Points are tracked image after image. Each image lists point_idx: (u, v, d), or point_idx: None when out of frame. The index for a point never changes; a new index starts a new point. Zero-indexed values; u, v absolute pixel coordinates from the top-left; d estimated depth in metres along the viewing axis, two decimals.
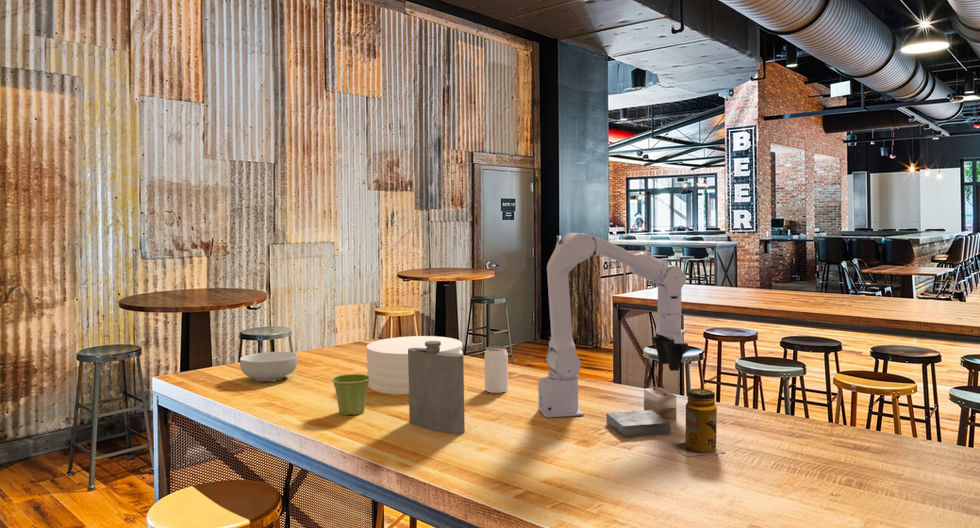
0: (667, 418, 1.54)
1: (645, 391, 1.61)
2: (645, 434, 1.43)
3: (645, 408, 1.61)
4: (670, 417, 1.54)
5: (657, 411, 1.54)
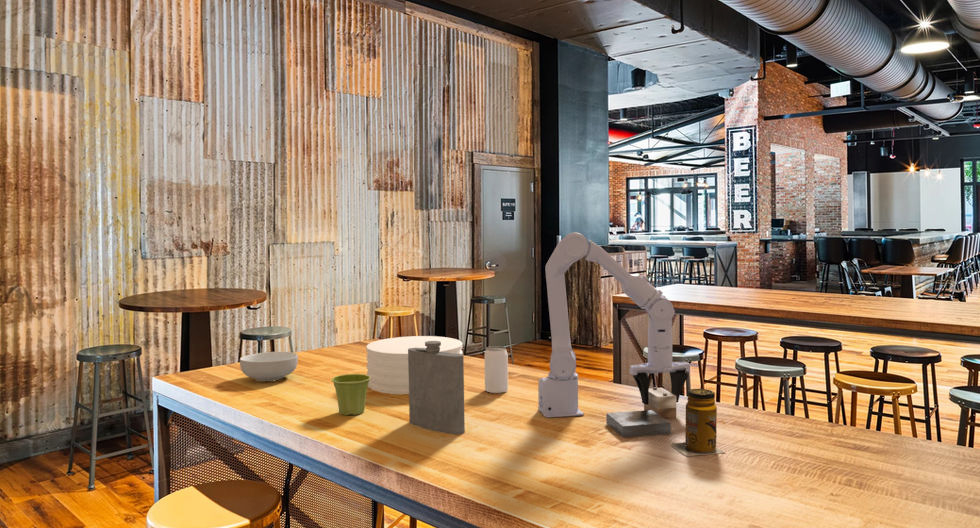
0: (667, 418, 1.54)
1: None
2: (645, 434, 1.43)
3: (645, 408, 1.61)
4: (670, 417, 1.54)
5: (657, 411, 1.54)
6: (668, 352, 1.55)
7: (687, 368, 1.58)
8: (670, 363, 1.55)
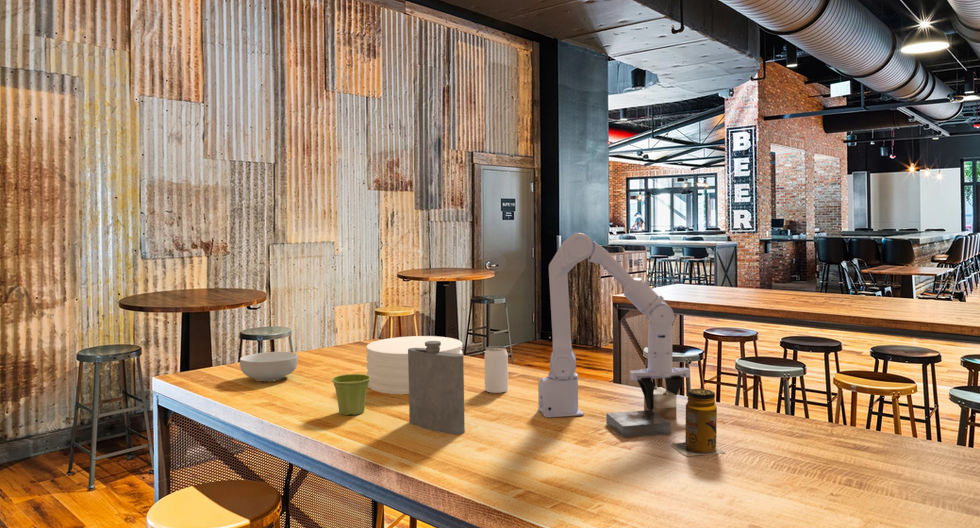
0: (667, 417, 1.54)
1: None
2: (645, 434, 1.43)
3: (645, 407, 1.61)
4: (670, 416, 1.54)
5: (657, 410, 1.54)
6: (668, 358, 1.55)
7: (687, 374, 1.58)
8: (670, 369, 1.55)
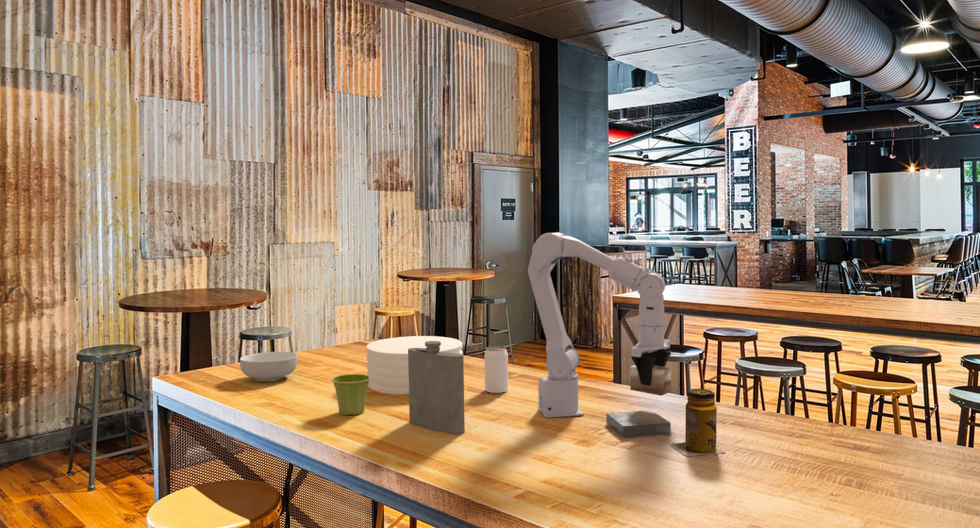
0: (666, 392, 1.51)
1: (633, 368, 1.54)
2: (645, 434, 1.43)
3: (633, 386, 1.54)
4: (667, 390, 1.52)
5: (659, 386, 1.49)
6: (663, 329, 1.51)
7: (668, 344, 1.57)
8: None
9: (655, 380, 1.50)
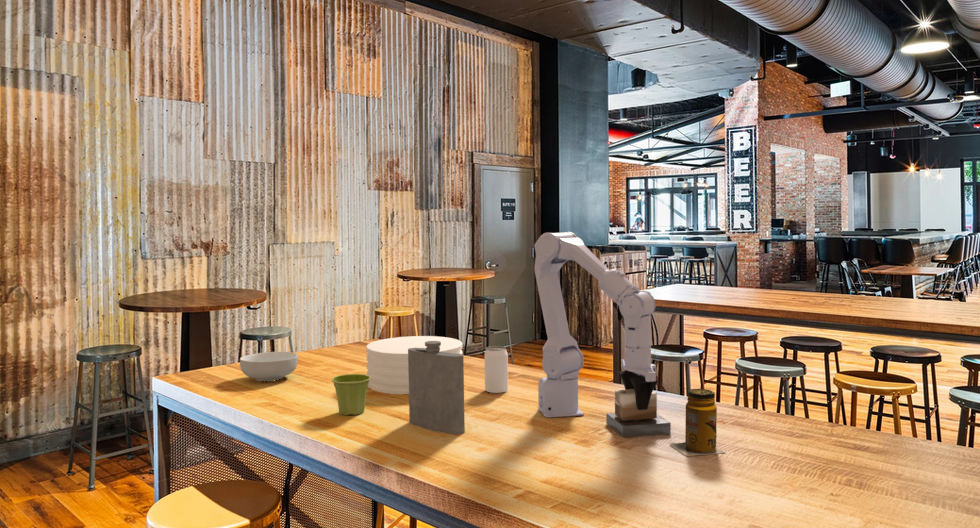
0: None
1: (626, 397, 1.44)
2: (645, 434, 1.43)
3: (626, 416, 1.45)
4: None
5: (655, 409, 1.46)
6: None
7: None
8: None
9: (650, 404, 1.45)
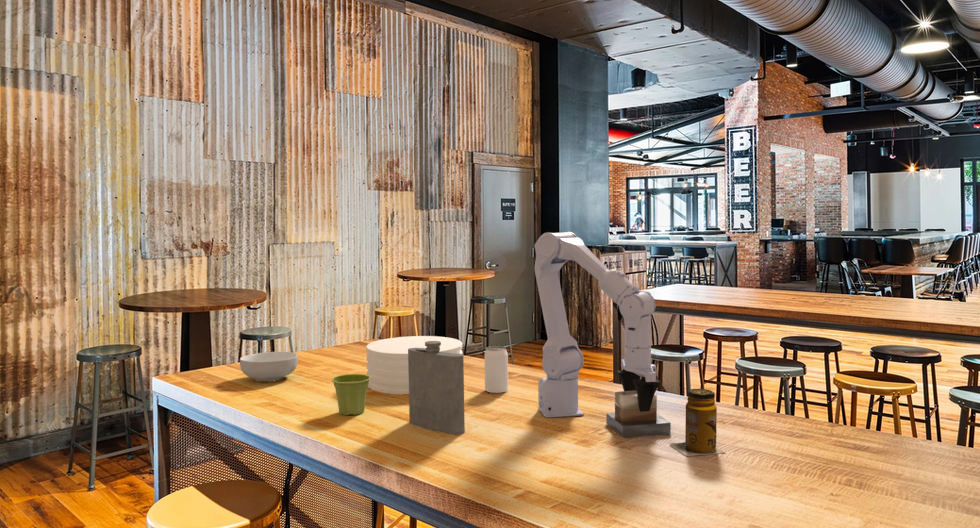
0: None
1: (626, 398, 1.44)
2: (645, 434, 1.43)
3: (626, 417, 1.45)
4: None
5: (654, 410, 1.46)
6: None
7: None
8: None
9: None
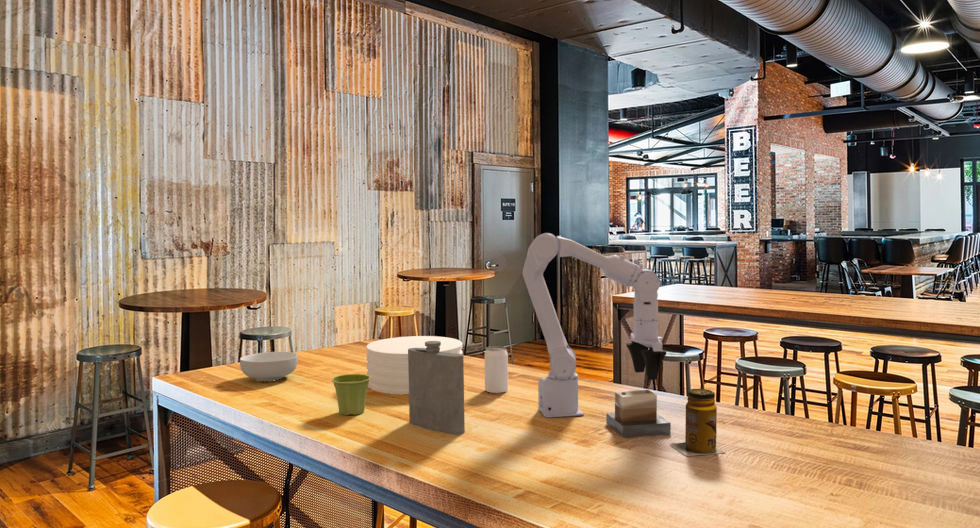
0: None
1: (626, 398, 1.44)
2: (645, 434, 1.43)
3: (626, 417, 1.45)
4: None
5: (654, 410, 1.46)
6: None
7: None
8: None
9: (650, 405, 1.45)
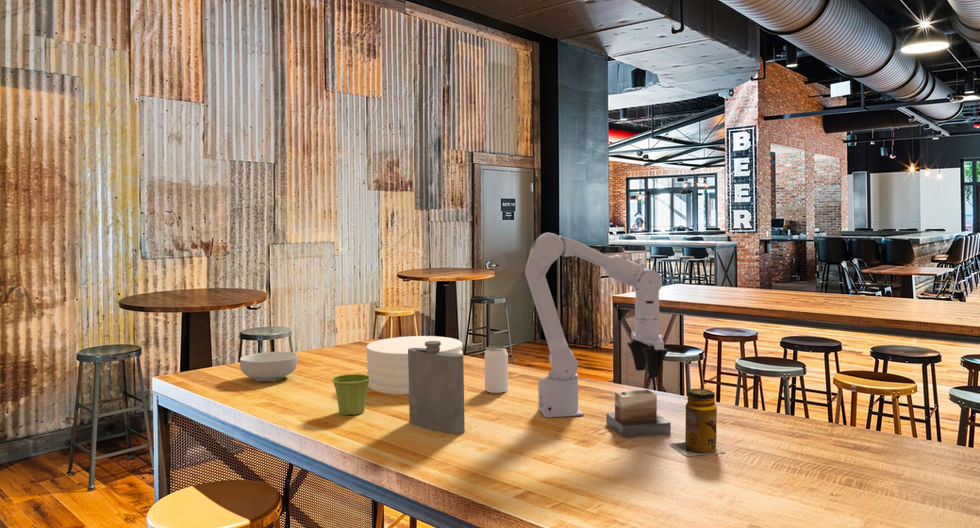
0: None
1: (626, 398, 1.44)
2: (645, 434, 1.43)
3: (626, 417, 1.45)
4: None
5: (654, 410, 1.46)
6: None
7: None
8: None
9: (650, 405, 1.45)
